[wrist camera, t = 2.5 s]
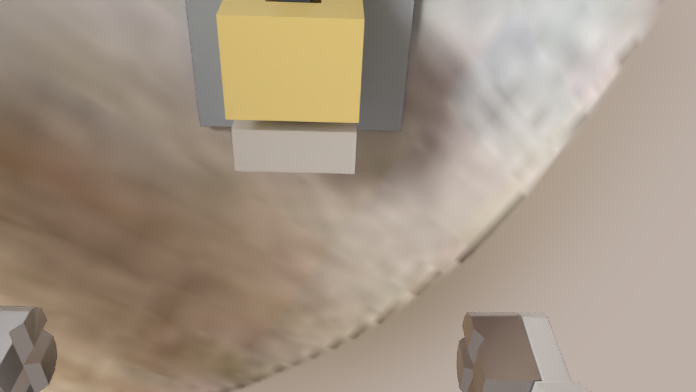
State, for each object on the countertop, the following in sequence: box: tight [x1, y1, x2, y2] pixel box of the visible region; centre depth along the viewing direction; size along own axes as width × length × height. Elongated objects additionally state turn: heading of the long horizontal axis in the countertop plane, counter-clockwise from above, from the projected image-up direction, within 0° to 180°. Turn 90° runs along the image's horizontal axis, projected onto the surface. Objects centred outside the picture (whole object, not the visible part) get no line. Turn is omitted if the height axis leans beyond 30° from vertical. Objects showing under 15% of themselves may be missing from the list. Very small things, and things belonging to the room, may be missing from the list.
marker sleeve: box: [216, 0, 365, 123], centre depth 24 cm, size 5×4×5 cm
